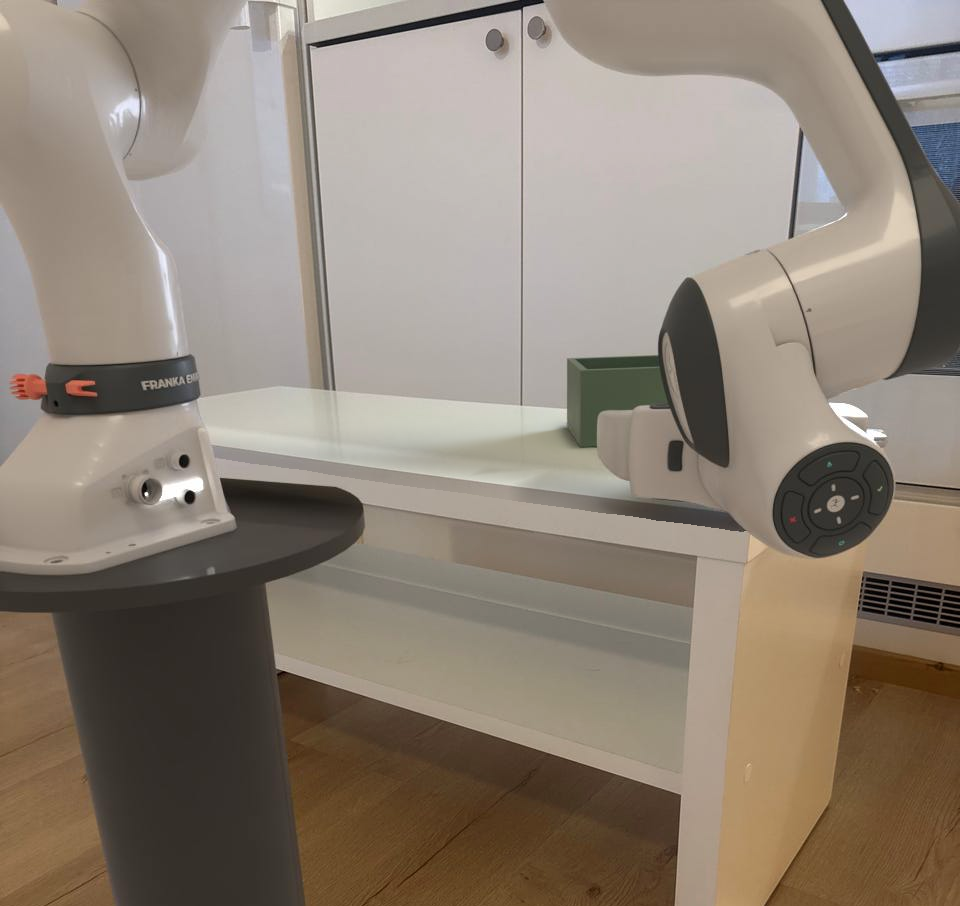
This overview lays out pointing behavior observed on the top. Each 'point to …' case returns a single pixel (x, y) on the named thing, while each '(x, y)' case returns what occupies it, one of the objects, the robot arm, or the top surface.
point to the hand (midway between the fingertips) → (705, 419)
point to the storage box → (609, 390)
